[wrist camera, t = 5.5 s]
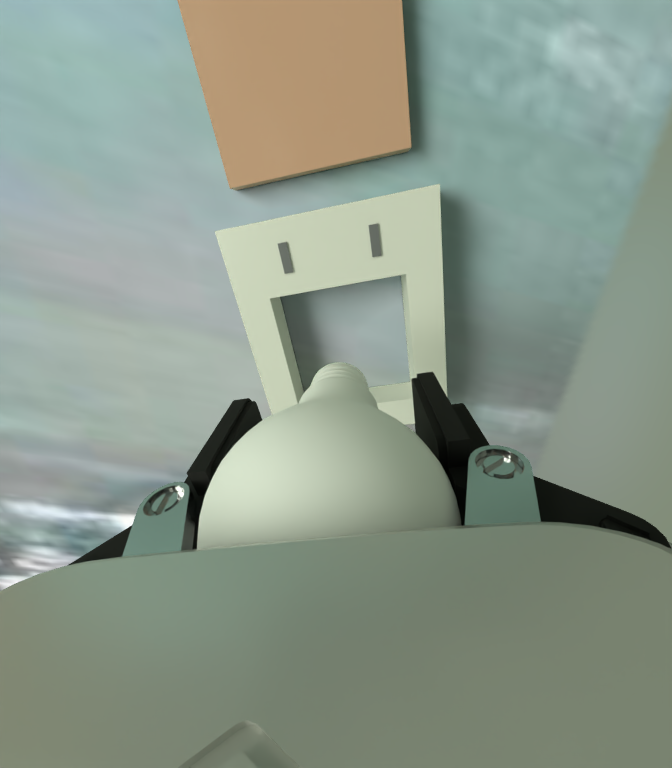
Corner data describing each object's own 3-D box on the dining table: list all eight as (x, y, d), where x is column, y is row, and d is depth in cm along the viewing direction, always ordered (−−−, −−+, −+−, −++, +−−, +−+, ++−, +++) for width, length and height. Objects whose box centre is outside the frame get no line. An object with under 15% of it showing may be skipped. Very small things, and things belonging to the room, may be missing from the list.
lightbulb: (337, 285, 13) (298, 481, 3) (433, 379, 15) (596, 692, 5) (249, 380, 15) (66, 671, 5) (341, 452, 17) (330, 770, 7)
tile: (167, -63, 14) (154, -83, 13) (388, -138, 13) (391, -165, 12) (235, 190, 19) (230, 188, 18) (408, 151, 17) (411, 147, 17)
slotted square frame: (230, 231, 20) (214, 231, 17) (428, 189, 18) (440, 183, 16) (286, 421, 26) (279, 441, 23) (439, 401, 24) (448, 420, 22)
